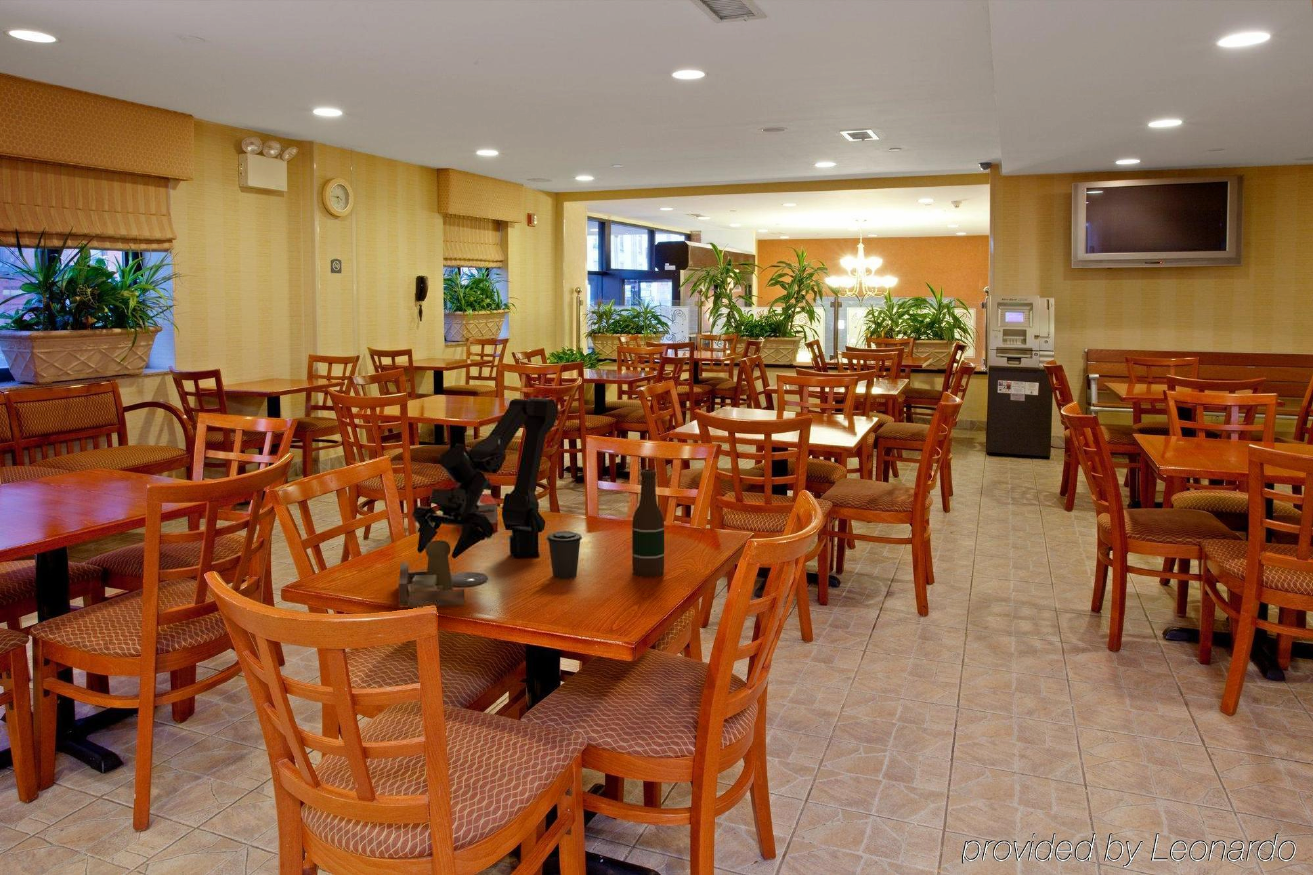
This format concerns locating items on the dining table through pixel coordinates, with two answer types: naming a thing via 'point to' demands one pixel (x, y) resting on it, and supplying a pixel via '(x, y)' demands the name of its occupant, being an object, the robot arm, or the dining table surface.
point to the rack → (425, 590)
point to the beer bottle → (648, 531)
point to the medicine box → (488, 509)
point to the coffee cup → (564, 553)
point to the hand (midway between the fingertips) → (435, 554)
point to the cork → (439, 563)
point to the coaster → (468, 579)
